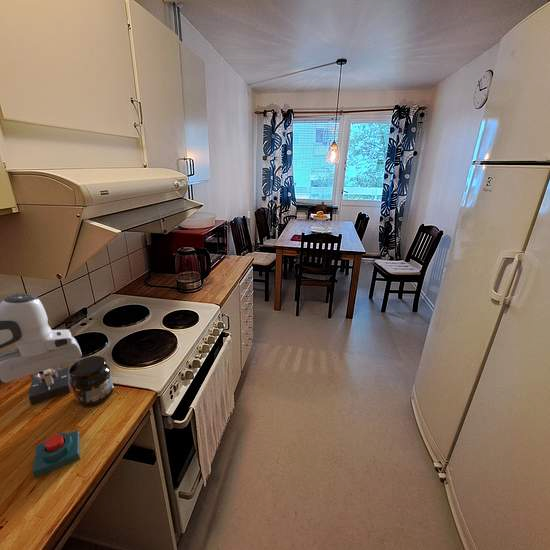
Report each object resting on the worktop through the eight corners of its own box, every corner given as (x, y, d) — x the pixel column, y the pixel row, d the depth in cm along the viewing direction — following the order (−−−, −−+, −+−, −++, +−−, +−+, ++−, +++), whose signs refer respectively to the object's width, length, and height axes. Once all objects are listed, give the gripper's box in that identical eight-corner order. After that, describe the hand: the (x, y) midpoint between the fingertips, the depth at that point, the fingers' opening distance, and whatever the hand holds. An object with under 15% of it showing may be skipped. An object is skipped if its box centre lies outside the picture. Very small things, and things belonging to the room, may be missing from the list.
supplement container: (81, 387, 94) (72, 358, 90) (116, 380, 98) (109, 351, 93) (72, 412, 85) (62, 381, 81) (112, 403, 89) (104, 372, 84)
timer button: (45, 454, 69) (43, 449, 69) (47, 443, 72) (45, 438, 71) (63, 447, 71) (62, 442, 71) (64, 436, 74) (62, 431, 73)
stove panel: (31, 404, 88) (28, 397, 86) (35, 384, 95) (32, 377, 94) (70, 392, 93) (67, 384, 91) (70, 373, 100) (68, 366, 99)
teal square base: (35, 478, 68) (30, 467, 66) (38, 451, 74) (34, 440, 72) (80, 459, 72) (76, 448, 71) (80, 435, 78) (76, 424, 77)
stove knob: (46, 378, 94) (43, 369, 93) (52, 376, 95) (49, 367, 94) (47, 386, 91) (43, 377, 89) (53, 384, 92) (50, 374, 90)
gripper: (-11, 362, 79) (6, 400, 84) (76, 336, 91) (86, 371, 96) (-9, 351, 83) (7, 387, 89) (74, 328, 96) (84, 361, 101)
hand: (49, 378), depth 93 cm, fingers closed on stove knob, 2 cm apart
